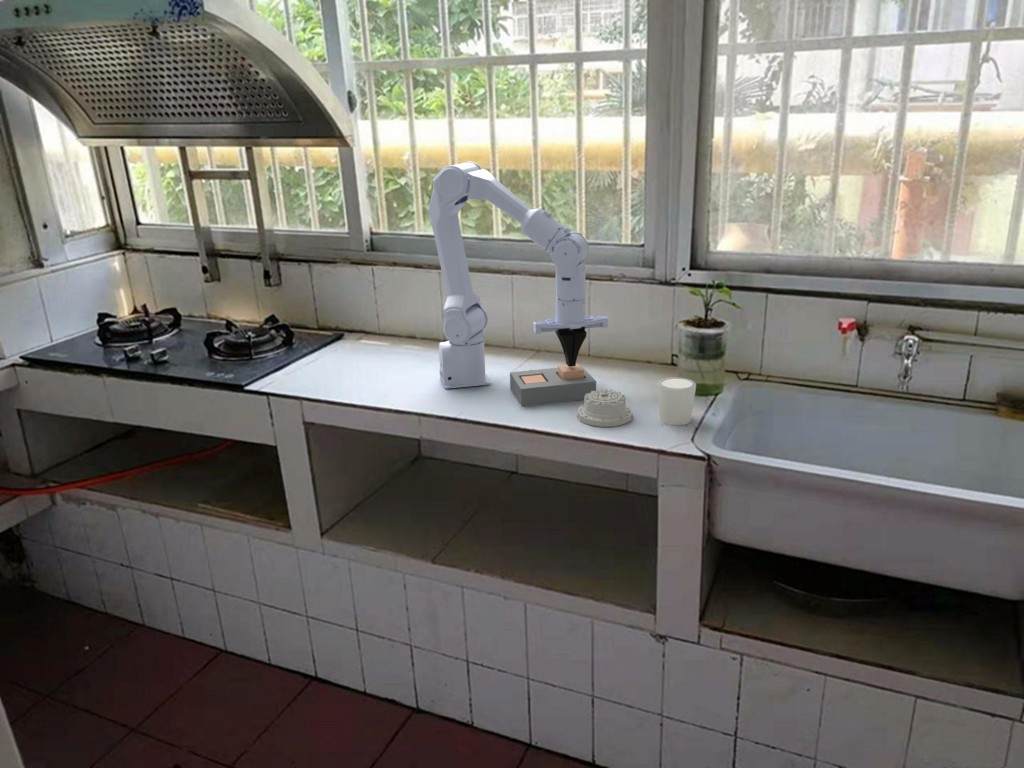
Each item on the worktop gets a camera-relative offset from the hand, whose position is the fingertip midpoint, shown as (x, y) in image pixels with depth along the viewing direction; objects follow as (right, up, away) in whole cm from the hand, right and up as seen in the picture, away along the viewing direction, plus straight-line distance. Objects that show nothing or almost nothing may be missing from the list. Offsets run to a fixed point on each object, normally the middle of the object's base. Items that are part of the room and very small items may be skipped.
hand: (570, 364), depth 157 cm
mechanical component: (+5, -10, -11) cm, 16 cm away
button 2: (0, -4, +1) cm, 4 cm away
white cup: (+18, -10, -13) cm, 24 cm away
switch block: (-4, -6, +1) cm, 7 cm away
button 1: (-7, -6, 0) cm, 9 cm away
